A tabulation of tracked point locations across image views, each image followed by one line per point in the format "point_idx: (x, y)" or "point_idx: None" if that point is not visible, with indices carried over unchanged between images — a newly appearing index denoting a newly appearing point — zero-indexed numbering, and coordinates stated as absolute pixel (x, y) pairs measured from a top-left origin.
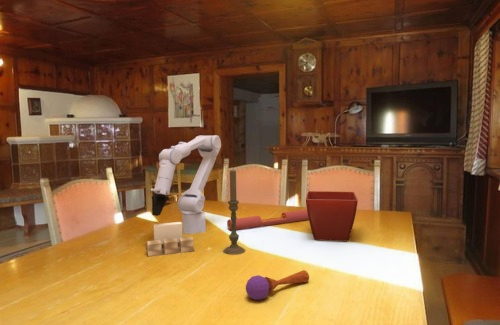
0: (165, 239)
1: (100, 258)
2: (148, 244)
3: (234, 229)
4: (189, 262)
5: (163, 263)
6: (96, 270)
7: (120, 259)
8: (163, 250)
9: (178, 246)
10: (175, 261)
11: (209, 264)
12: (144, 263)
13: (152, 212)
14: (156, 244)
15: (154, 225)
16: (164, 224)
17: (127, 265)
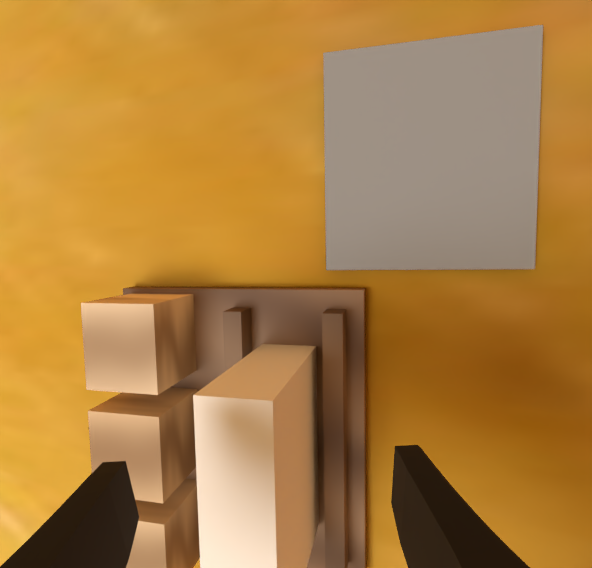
0: (156, 430)
1: (233, 8)
2: (82, 307)
3: None
4: (48, 474)
5: (65, 359)
6: (59, 29)
7: (180, 137)
8: (200, 387)
9: None
10: (75, 417)
11: (7, 545)
12: (88, 268)
13: (403, 467)
14: (89, 357)
15: (221, 403)
16: (230, 498)
17: (84, 183)
